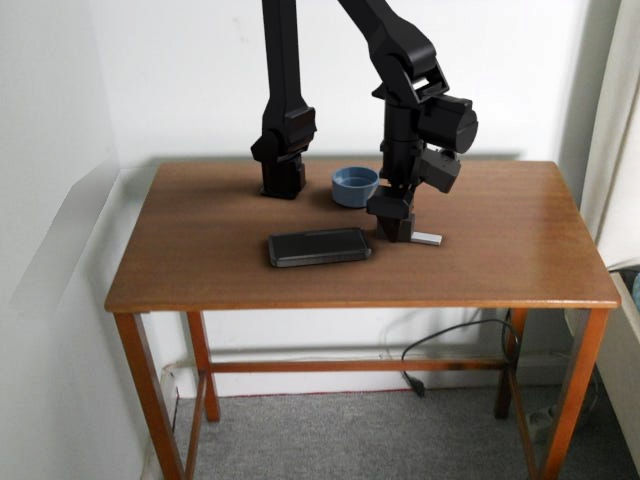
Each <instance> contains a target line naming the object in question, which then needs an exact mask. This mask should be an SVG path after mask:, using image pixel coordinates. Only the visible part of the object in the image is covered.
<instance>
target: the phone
mask: <svg viewBox="0 0 640 480" xmlns="http://www.w3.org/2000/svg"><path fill="white" fill-rule="evenodd" d="M267 244H268V249H269V256H270V262H271V263H270V264H271V265H272V266H273V267H276V268H284V267H285V268H286V267H296V266H306V265H318V264H327V263H329V264H330V263H339V262H349V261H359V260H368V259H369V258H371V257H372V247H371V245H370V242H369V239H368V236H367V234H366V231H365V229H364V228H363V227H361V226H345V227H336V228H323V229H322V228H321V229H314V230H313V229H311V230H300V231H288V232H278V233H271V234H269V235H268V236H267Z"/></svg>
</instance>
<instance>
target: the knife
mask: <svg viewBox="0 0 640 480" xmlns="http://www.w3.org/2000/svg"><path fill="white" fill-rule="evenodd" d="M415 225H416V213H411V215H410V216H409V218H408V219H404V220H402V224H401V228H400V232H399V236H398V239H397V241H400V242H407V243H411V242H413V243H414V242H415V243H421V244H428V245H435V246H440V245H441V241H442V237H443V236H442V235H438V234H433V233H425V232H419V231H418V232H417V231H415ZM376 238H380V239H387V240H388V238H387V236H386V234H385V232H384V230H383V228H382V226H381V225H380V223H379V221H378V219H377V218H376Z"/></svg>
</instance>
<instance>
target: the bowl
mask: <svg viewBox="0 0 640 480" xmlns="http://www.w3.org/2000/svg"><path fill="white" fill-rule="evenodd" d="M381 181H382V179H380V178H379V171H377V170H376V169H374V168H372V167H369V166H364V165H363V166H362V165H348V166H344V167H340V168H338V169H336V170H335V171H333V173H332V174H331V196H332V199H333V201H335V202H336V203H337V204H339V205H342V206H345V207H348V208H355V209H356V208H363V207H365V208H366V200H367V198H368V196H369V194H370V193H371V191H372V189H374V188H375V187H376V186H377V185H381Z"/></svg>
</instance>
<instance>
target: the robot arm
mask: <svg viewBox="0 0 640 480" xmlns="http://www.w3.org/2000/svg"><path fill="white" fill-rule="evenodd" d="M336 1H337V2H338V4H339V5H340V6H341V8H342V9H343V10H344V12H345V13H346V14H347V16H348V17H349V18H350V20H351V21H352V23H353V24H354V25H355V26H356V28H357V29H358V30H359V32H360V33H361V35H362V36H363V38H364V40H365V42H366V43H367V49H368V50H367V51H368V56H369V60H370V62H371V64H372V66H373V68H374V69H375V72H376V73H377V75H378V77H379V78H380V81H381V83H380V84H379V85H378V86H377V87H376V88H375V89H374V90H372V91H371V97H373V98H375V99H379V100H382V101H384V102H383V103H384V105H383V106H384V108H383V109H384V110H383V139H382V140H381V142H380V143H379V152H381V153H382V167H381V168H380V169H379V171H378V173H379V178H380V179H381V180H386V181H387V184H388V185H383V184H380V185H377V186H376V187H375V188H374V189H372V191H371V193H370V194H369V196H368V198H367V200H366V206H365V213H366V214H367V215H369V216H375V217H376V220H377V219H378V221H379V223H380V225H381V226H382V228H383V230H384V232H385V234H386V236H387V238H388V239H387V238H386V239H387V240H388V243H390V244H397V242H398V240H397V239H398V236H399V232H400V228H401V224H402V220H404V219H408V218H409V216H410V215H411V213H412V212H413V210H414V207H415V205H414V203H415V194H416V190H417V188H418V187H419V186H421V185H422V184H423V183H425V184H426V185H429V186H430V187H433V188H435V189H436V190H438V192H440V193H442V194H445V195H446V194H449V193H450V192H451V190H452V188H453V186H454V184H455V182H456V180H457V178H458V176H459V174H460V172H461V168H462V164H461V160H460V159H457V158H458V154H459V155H464V154H465V153H467V152H468V151H469V150H470V149H471V147H472V145H473V144H474V142H475V139H476V137H477V134H478V130H479V124H480V123H479V120H478V114H477V112H476V111H475V109H473V104H474V101H473V100H472V99H470V98H465V97H456V96H452V95H448V94H446V93H448V92H450V89H451V87H450V85H449V83H448V81H447V79H446V76H445V74H444V71H443V69H442V67H441V65H440V63H439V61H438V59H437V54H438V53H437V50H436V47H435V45H434V43H433V42H432V41H431V40H430V39H429V38H428V37H427V36H426V35H425V34H424V32H422V31H421V30H420V29H419V28H418V27H417V26H416V25H415V24H414V23H412V22H411V21H408V20H406V19H404V18H403V17H402V16H400V15H398V13H396V11H394V10H393V8H392V7H391V6H390V4H389V2H388V1H387V0H336ZM261 7H262V8H261V9H262V10H261V11H262V23H263V35H264V47H265V58H266V69H267V80H268V81H267V82H268V93H269V98H268V100H267V103H266V106H265V108H264V110H263V113H262V115H261V135H260V136H259V137H258V139H256V141H255V142H254V143H252V145H251V146H250V147H249V149H250V153H251V155H252V158H253V160H254V161H256V162H258V163H260V167H261V177H262V178H261V179H262V188H261V189H260V190H259V194H260V195H262V196H266V197H267V196H268V197H273V198H274V197H276V198H281V199H282V198H283V199H289V200H295V199H297V197H298V196H299V195H300V194H301V192H302V191H303V189H304V188H305V187H306V186H307V180H306V179H307V178H306V165H305V163H304V162H303V160H302V159H303V157H302V153H306V152H307V151H308V150H309V147H310V143H312V141H313V140H314V139H315V133H316V132H318V128H317V123H316V113H317V110H316V108H315V107H314V106H309V105H308V103H307V102H306V100H305V98H304V97H303V95H302V83H301V68H300V67H301V65H300V64H301V63H300V47H299V46H300V45H299V28H298V11H297V9H298V8H297V0H261ZM425 80H426V81H427V83H426V84H424V85H422V86H419V87H418V88H415V87H414V85H416V84H419V83H420V82H422V81H425ZM428 145H432V146H435V147H438V148H435V150H433V149H431V148H429V147H428ZM439 148H440V149H439Z"/></svg>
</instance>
